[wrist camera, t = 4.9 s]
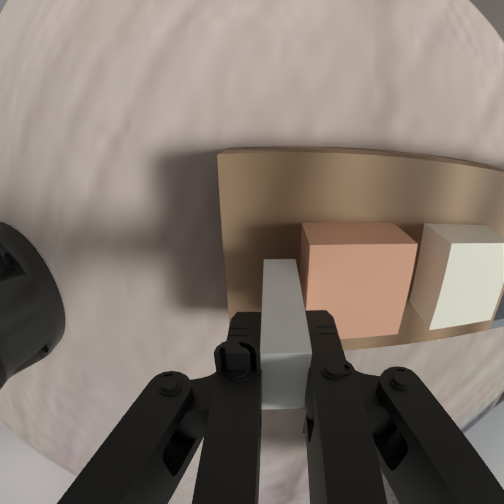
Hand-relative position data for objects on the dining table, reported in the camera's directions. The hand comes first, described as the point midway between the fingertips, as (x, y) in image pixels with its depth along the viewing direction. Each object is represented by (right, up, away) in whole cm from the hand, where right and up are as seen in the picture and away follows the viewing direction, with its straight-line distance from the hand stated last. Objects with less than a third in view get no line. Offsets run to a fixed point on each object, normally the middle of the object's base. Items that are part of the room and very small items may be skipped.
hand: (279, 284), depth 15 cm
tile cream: (+11, +1, +1) cm, 11 cm away
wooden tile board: (+7, +3, +6) cm, 10 cm away
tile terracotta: (+4, +1, +1) cm, 4 cm away
